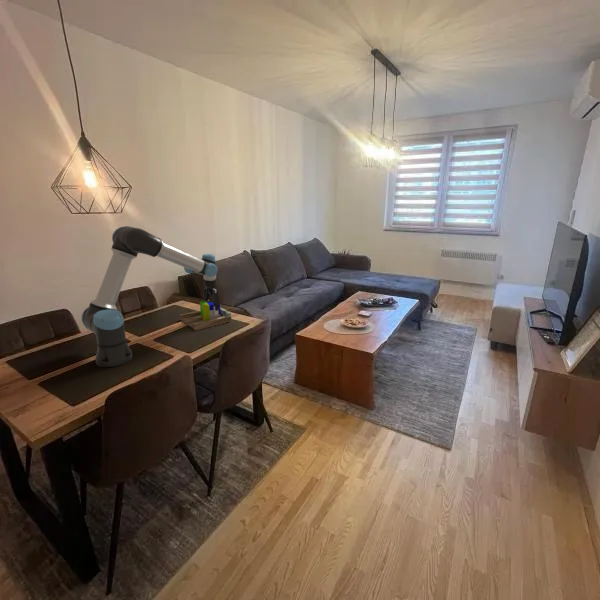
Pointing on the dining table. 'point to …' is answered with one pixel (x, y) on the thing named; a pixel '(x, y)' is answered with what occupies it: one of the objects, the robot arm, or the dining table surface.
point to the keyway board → (198, 323)
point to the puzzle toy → (208, 310)
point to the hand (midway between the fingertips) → (211, 312)
